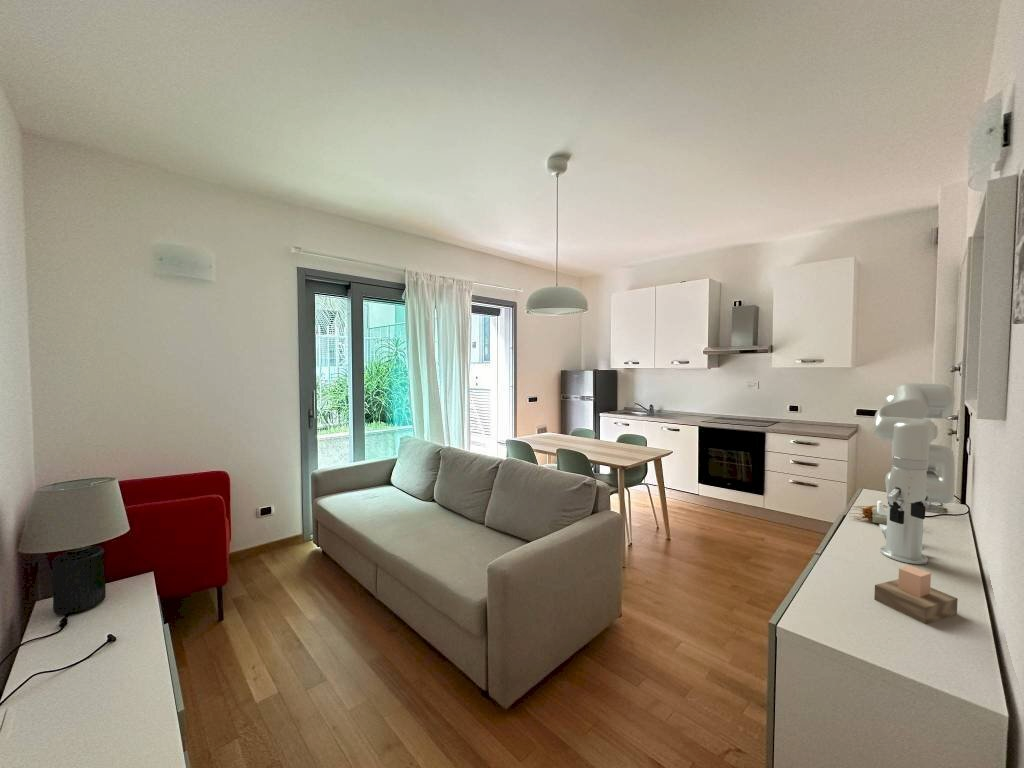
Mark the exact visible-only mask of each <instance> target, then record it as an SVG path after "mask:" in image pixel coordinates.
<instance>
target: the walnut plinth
mask: <svg viewBox="0 0 1024 768" xmlns="http://www.w3.org/2000/svg"><path fill="white" fill-rule="evenodd" d="M898 581H899V578H897V579H894V580H890V581H885V582H881V583H877V584H874V596H873V597H874V601H876V602H879V603H880V604H883V605H885V606H887V607H889V608H890V609H893V610H895V611H897V612H900V613H901V614H903V615H905V616H908V617H909V618H910V619H914V620H915V621H918V622H920V623H922V624H924V625H926V624H929V623H933V622H936V621H939V620H942V619H946V618H948V617H952V616H956V615H958V598H957V597H955V596H952V595H951V594H948V593H945V592H943V591H940V590H938V589H935V588H933V587H931V586H930V594H928V595H925V596H922V597H918V596H916V595H913V594H911V593H909V592H906V591H904V590H901V589H899V588H898Z"/></svg>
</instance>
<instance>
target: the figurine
mask: <svg viewBox="0 0 1024 768" xmlns="http://www.w3.org/2000/svg"><path fill="white" fill-rule="evenodd" d="M876 503H877V504H876V505H877V512H878V514H881V515H886V516H887V509H886V508H883V505H884V504H883V503H884V502H883V501H882V500H877V502H876ZM878 524H879V523H878ZM879 529H880V531H881V533H882V535H883V538H885V539H886V529H887V524H879Z"/></svg>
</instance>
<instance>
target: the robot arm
mask: <svg viewBox="0 0 1024 768" xmlns="http://www.w3.org/2000/svg"><path fill="white" fill-rule="evenodd" d="M955 398H956V397H955V393H954V391H953V389H952V387H950V386H949V385H947V384H945V383H918V382H917V383H916V382H915V383H912V382H911V383H904V384H901V385H899V386H897V387H896V388H895V390H894V392H893V393H892V394H889V395H886V397H885V398H884V401H883V406H881V407H880V408H878V409H877V410H876V411H875V414H874V417H873V424H872V425H873V426H872V430H873V434H874V436H875V438H877V439H880V440H884V441H889V442H890V441H891V460H892V462H891V463H892V464H891V469H890V471H889V472H888V473H886V475H885V479H884V481H885V489H886V503H887V505H886V506H887V524H886V525H887V529H886V538H885V545H883V546H880V548H879V551H880V553H881V554H882V555H884V556H885V557H887V558H890V559H893V560H894V561H899V562H901V563H906V564H912V565H913V564H914V565H925V564H927V563H928V561H929V559H928V557H927V556H926V555H925V554H923V551H924V550H927V549H928V545H926V544H925V543H923V538H924V537H923V534H924V520H925V519H926V506H927V503H928V502H931V503H937V504H943V505H945V504H950V503H952V501H954V497H955V474H956V473H955V471H956V470H955V455H954V452H953V450H952V449H951V448H949V447H948V446H947V445H946V446H945V445H942V444H933V443H932V442H933V441H934V440H936V439H937V438H938V434H939V430H938V426H937V425H936V424H935V423H934V422H933V421H932V420H930V419H936V420H937V419H938V420H939V419H940V420H941V419H942V420H943V419H947V418H949V417H950V415H951V414H952V411H953V408H954V405H955V400H956V399H955ZM928 471H930V472H933V473H934V474H931V473H929V474H928V473H927V472H928Z"/></svg>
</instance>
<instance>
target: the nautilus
mask: <svg viewBox="0 0 1024 768" xmlns="http://www.w3.org/2000/svg"><path fill="white" fill-rule="evenodd" d="M883 508H886V509H887V505H886V504H883ZM857 509H859V511H860V513H856V512H855V513H854V512H853V513H852V512H850V514H852V515H853V514H854V515H853V516H852V515H850V517H852V518H854V520H855V519H856V520H859V521H862V520H863V522H872V523H875V524H882V525H887V516H886V515H881V514H878V512H877V504H876V505H869V506H866V505H865V506H864V505H857V506H855V505H853V508H849V510H852V511H857ZM855 515H856V516H855ZM857 515H860V516H857Z"/></svg>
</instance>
